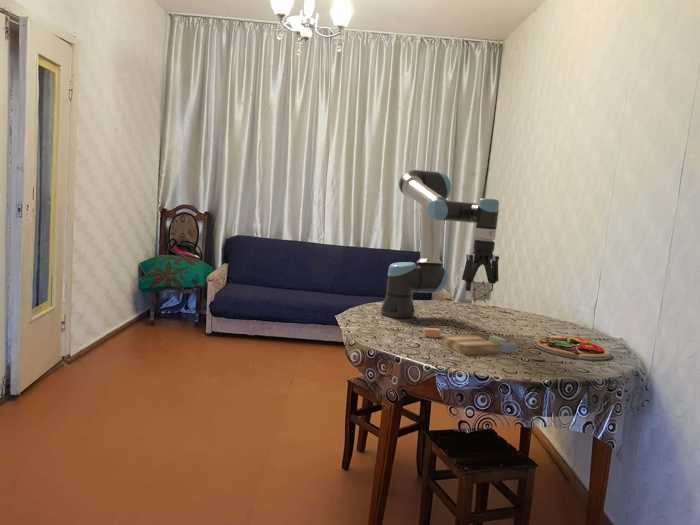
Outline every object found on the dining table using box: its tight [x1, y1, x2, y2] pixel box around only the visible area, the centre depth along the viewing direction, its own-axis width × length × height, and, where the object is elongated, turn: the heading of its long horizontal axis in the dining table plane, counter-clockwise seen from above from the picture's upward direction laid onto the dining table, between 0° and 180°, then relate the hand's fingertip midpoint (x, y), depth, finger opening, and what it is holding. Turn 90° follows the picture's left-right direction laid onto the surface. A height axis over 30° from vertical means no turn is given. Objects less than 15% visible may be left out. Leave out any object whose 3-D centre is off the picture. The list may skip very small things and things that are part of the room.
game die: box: [465, 280, 493, 303], centre depth 218 cm, size 9×8×10 cm
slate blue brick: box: [497, 341, 518, 353], centre depth 204 cm, size 6×3×3 cm, turn 112°
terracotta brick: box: [422, 327, 442, 338], centre depth 218 cm, size 6×3×3 cm, turn 95°
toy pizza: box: [532, 335, 613, 361], centre depth 215 cm, size 28×28×4 cm
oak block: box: [440, 334, 498, 355], centre depth 203 cm, size 14×14×3 cm
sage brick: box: [487, 335, 507, 345], centre depth 213 cm, size 6×3×3 cm, turn 30°
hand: (478, 299), depth 218 cm, fingers closed on game die, 8 cm apart
